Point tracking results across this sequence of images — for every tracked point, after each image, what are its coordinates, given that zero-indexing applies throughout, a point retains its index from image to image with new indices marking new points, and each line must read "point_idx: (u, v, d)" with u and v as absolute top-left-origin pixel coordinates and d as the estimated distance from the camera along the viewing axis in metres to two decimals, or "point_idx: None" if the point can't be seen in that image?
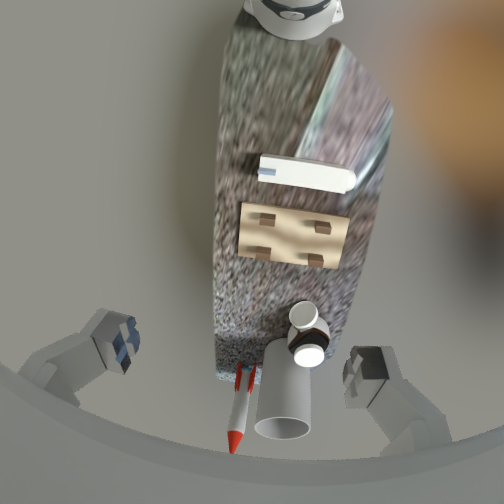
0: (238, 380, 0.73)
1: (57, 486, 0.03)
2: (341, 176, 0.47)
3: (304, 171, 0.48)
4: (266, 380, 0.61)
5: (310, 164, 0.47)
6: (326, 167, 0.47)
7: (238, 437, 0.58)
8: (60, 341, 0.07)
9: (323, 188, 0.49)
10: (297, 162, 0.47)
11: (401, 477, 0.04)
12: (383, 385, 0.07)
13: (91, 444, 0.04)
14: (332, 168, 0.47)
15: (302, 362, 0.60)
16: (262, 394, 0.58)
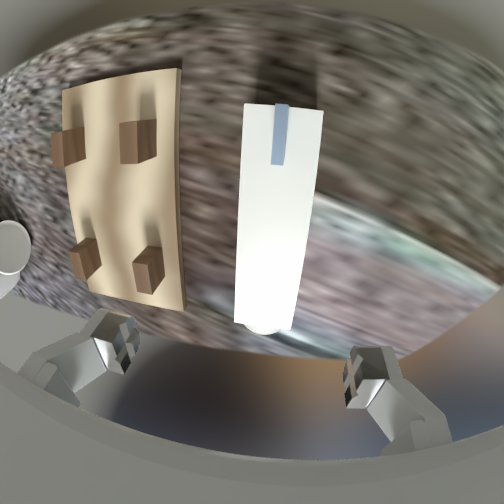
0: None
1: (56, 487, 0.03)
2: (273, 315, 0.21)
3: (281, 234, 0.18)
4: None
5: (302, 249, 0.18)
6: (295, 286, 0.20)
7: None
8: (60, 341, 0.07)
9: (239, 280, 0.20)
10: (307, 216, 0.17)
11: (401, 477, 0.04)
12: (383, 385, 0.07)
13: (91, 444, 0.04)
14: (293, 298, 0.20)
15: None
16: None
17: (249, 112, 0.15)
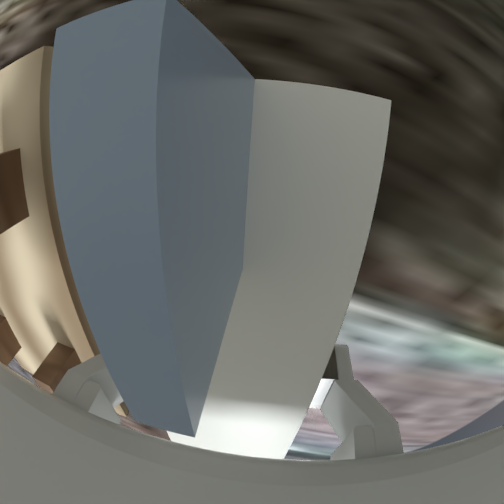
0: None
1: (57, 486, 0.03)
2: None
3: (245, 415, 0.07)
4: None
5: (290, 432, 0.07)
6: None
7: None
8: (99, 356, 0.07)
9: None
10: (306, 396, 0.06)
11: (401, 477, 0.04)
12: (332, 385, 0.07)
13: (91, 444, 0.04)
14: None
15: None
16: None
17: None
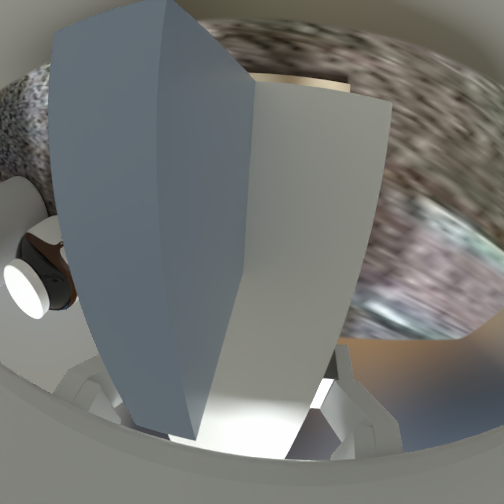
0: None
1: (57, 486, 0.03)
2: None
3: (245, 417, 0.07)
4: None
5: (290, 434, 0.07)
6: None
7: None
8: (99, 356, 0.07)
9: None
10: (306, 398, 0.06)
11: (401, 477, 0.04)
12: (332, 385, 0.07)
13: (91, 444, 0.04)
14: None
15: (9, 280, 0.21)
16: None
17: None
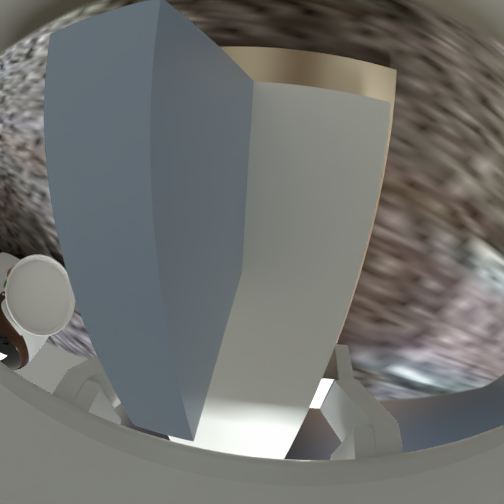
0: None
1: (57, 486, 0.03)
2: None
3: (244, 417, 0.07)
4: None
5: (290, 434, 0.07)
6: None
7: None
8: None
9: None
10: (305, 398, 0.06)
11: (401, 477, 0.04)
12: (332, 385, 0.07)
13: (91, 444, 0.04)
14: None
15: None
16: None
17: None
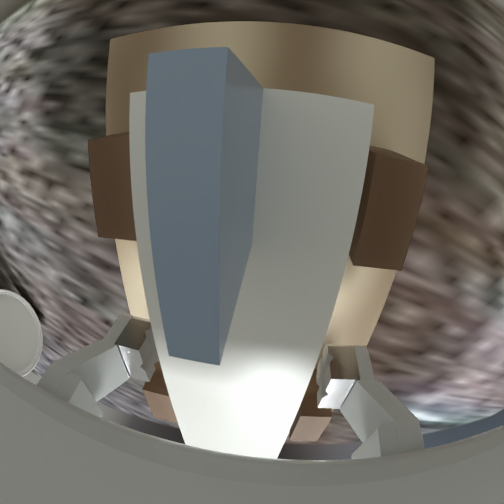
0: None
1: (56, 486, 0.03)
2: None
3: (250, 390, 0.08)
4: None
5: (292, 409, 0.08)
6: (278, 440, 0.10)
7: None
8: (82, 349, 0.07)
9: (185, 427, 0.10)
10: (306, 369, 0.07)
11: (401, 477, 0.04)
12: (353, 385, 0.07)
13: (91, 444, 0.04)
14: (275, 449, 0.10)
15: None
16: None
17: (143, 116, 0.05)
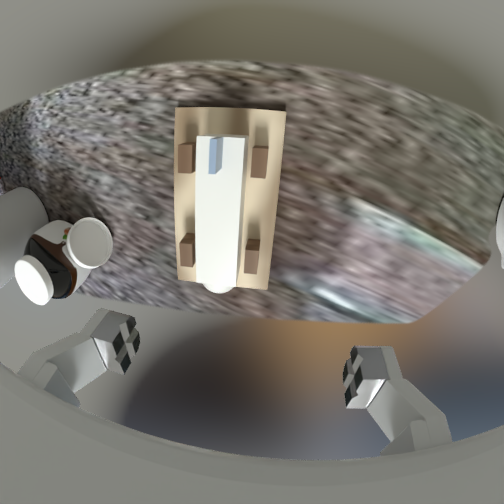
0: None
1: (56, 487, 0.03)
2: (222, 276, 0.31)
3: (222, 217, 0.28)
4: None
5: (236, 227, 0.28)
6: (234, 253, 0.29)
7: None
8: (60, 341, 0.07)
9: (198, 250, 0.29)
10: (238, 205, 0.27)
11: (401, 477, 0.04)
12: (383, 385, 0.07)
13: (91, 444, 0.04)
14: (234, 262, 0.30)
15: (20, 273, 0.26)
16: None
17: (199, 141, 0.24)
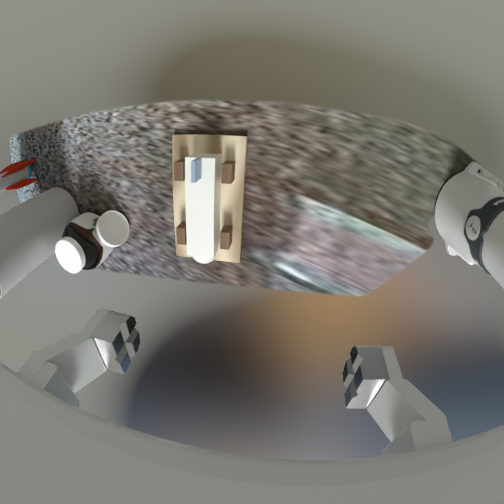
0: (14, 170, 0.40)
1: (56, 486, 0.03)
2: (204, 250, 0.45)
3: (203, 210, 0.41)
4: (25, 215, 0.36)
5: (212, 216, 0.42)
6: (212, 234, 0.43)
7: None
8: (60, 341, 0.07)
9: (188, 232, 0.43)
10: (212, 202, 0.41)
11: (401, 477, 0.04)
12: (383, 385, 0.07)
13: (91, 444, 0.04)
14: (212, 240, 0.44)
15: (59, 250, 0.41)
16: (8, 220, 0.33)
17: (187, 160, 0.38)
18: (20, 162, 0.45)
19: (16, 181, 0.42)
